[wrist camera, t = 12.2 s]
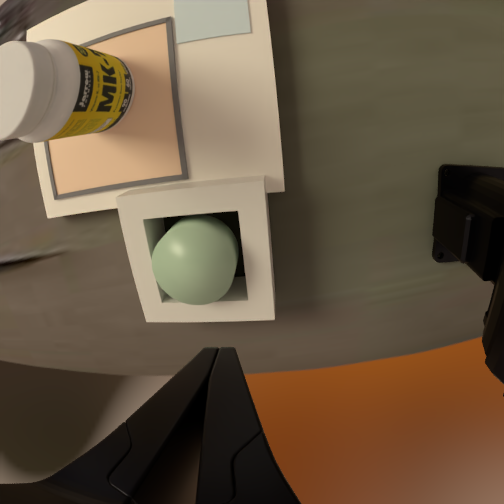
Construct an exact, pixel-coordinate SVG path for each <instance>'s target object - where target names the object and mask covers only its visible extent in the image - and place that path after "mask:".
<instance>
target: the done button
mask: <svg viewBox="0 0 504 504" xmlns="http://www.w3.org/2000/svg"><path fill="white" fill-rule="evenodd" d="M238 258H239V247H238V242H237V239H236V237H235V235H234V234H233V232H232V231H231V229H230V228H229V227H228V226H227V225H226V224H225V223H223V222H222V221H220V220H219V219H217V218H215V217H212V216H208V215H202V214H195V215H190V216H186V217H184V218H182V219H180V220H179V221H177V222H176V223H175V224H174V225H173V226H172V227H171V228H170V230H169V231H168V232H167V233H166V234H165V235H164V236H163V237H162V238H161V240H160V241H159V242H158V243H157V245H156V247H155V249H154V251H153V255H152V270H153V273H154V276H155V279H156V281H157V282H158V284H159V285H160V287H161V288H162V289H163V290H164V291H165V292H166V293H167V294H168V295H169V296H171V297H172V298H174V299H176V300H178V301H180V302H182V303H186V304H190V305H205V304H210V303H212V302H215V301H217V300H218V299H220V298H221V297H223V296H224V295H225V294H226V292H227V291H228V290H229V288H230V286H231V284H232V282H233V278H234V274H235V270H236V266H237V262H238Z"/></svg>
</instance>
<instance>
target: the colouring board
mask: <svg viewBox="0 0 504 504" xmlns="http://www.w3.org/2000/svg"><path fill="white" fill-rule="evenodd" d="M45 39H55V40H61V41H65V42H69V43H72V44H76V45H79V46H83V47H86V48H90V49H93V50H96V51H100V52H103V53H106V54H109V55H112V56H115V57H117V58H119V59H121V60H122V61H124V62H125V63H126V64H127V66H128V67H129V69H130V70H131V72H132V75H133V78H134V83H135V94H134V99H133V102H132V105H131V107H130V109H129V111H128V113H127V114H126V116H125V117H124V118H123V119H122V120H121V121H120V122H119V123H118V124H117V125H116V126H114V127H113V128H111V129H109V130H107V131H104V132H99V133H92V134H86V135H79V136H73V137H66V138H61V139H55V140H49V141H44V142H38V143H33V145H34V152H35V158H36V164H37V170H38V175H39V181H40V186H41V190H42V195H43V200H44V204H45V209H46V213H47V217H48V218H53V217H60V216H66V215H72V214H79V213H85V212H92V211H99V210H106V209H114V208H118V207H117V202H116V197H117V196H119V195H121V194H123V193H124V192H126V191H128V190H132V189H139V188H146V187H154V186H161V185H169V184H177V183H186V182H194V181H204V180H213V179H223V178H234V177H246V176H258V175H265V182H266V193H272V192H285V187H284V174H283V161H282V148H281V136H280V125H279V114H278V103H277V93H276V83H275V73H274V63H273V54H272V45H271V37H270V28H269V20H268V12H267V4H266V0H88V1H86V2H84V3H81V4H79V5H77V6H74V7H72V8H70V9H68V10H66V11H64V12H61V13H59V14H57V15H55V16H53V17H51V18H49V19H47V20H45V21H44V22H42V23H40V24H38V25H36V26H34V27H32V28H31V29H29V30H27V42H37V41H40V40H45Z"/></svg>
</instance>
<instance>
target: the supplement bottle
mask: <svg viewBox="0 0 504 504" xmlns="http://www.w3.org/2000/svg"><path fill="white" fill-rule="evenodd" d="M134 94H135V83H134V78H133V75H132V72H131V70H130V69H129V67H128V66H127V64H126V63H125V62H124V61H122V60H121V59H119V58H117V57H115V56H112V55H109V54H106V53H103V52H100V51H96V50H93V49H90V48H86V47H83V46H79V45H76V44H72V43H69V42H65V41H61V40H55V39H45V40H40V41H37V42H23V41H10V42H7V43H5V44H3V45H1V46H0V141H1V140H7V139H13V138H19V139H20V140H23V141H25V142H31V143H38V142H44V141H49V140H55V139H61V138H66V137H73V136H79V135H86V134H92V133H99V132H104V131H107V130H109V129H111V128H113V127H114V126H116V125H117V124H118V123H119V122H120V121H121V120H122V119H123V118H124V117H125V116H126V114H127V113H128V111H129V109H130V107H131V105H132V102H133V99H134Z"/></svg>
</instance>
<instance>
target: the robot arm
mask: <svg viewBox="0 0 504 504" xmlns="http://www.w3.org/2000/svg"><path fill="white" fill-rule="evenodd" d="M446 169H447V170H448V174H447V176H445V170H446ZM432 235H433V237H434V242H433V251H432V257H433V259H434V260H435V261H436V262H439V263H441V262H453V261H460V262H461V263H465V264H467V265H468V266H469V267H470V268H471V269H472V270H473V271H474V272H475V273H476V274H477V275H478V276H479V277H480V278H481V279H482V280H483V281H491V282H492V283H493V284H494V289H493V293H492V297H491V300H490V304H489V308H488V311H487V312H485V316H484V319H483V322H484V326H485V327H484V330H483V337H482V343H483V347H484V350H485V354H486V356H487V357H486V359H485V364H486V365H487V366H488V368H489V369H490V371H491V372H492V373H493V374H494V376H495V377H497V378H498V379H499V380H500V381H501V382H502V383H503V384H504V168H502V167H489V166H473V165H454V164H443V165H442V166H440V168H439V171H438V195H437V198H436V199H435V211H434V223H433V234H432ZM440 252H441V255H440V256H439V257H438V254H439V253H440ZM503 396H504V394H503ZM0 504H301V502H300V501H299V499H298V498H297V496H296V495H295V493H294V491H293V490H292V488H291V487H290V485H289V483H288V482H287V480H286V478H285V477H284V475H283V473H282V471H281V470H280V468H279V466H278V464H277V463H276V460H275V458H274V456H273V453H272V451H271V449H270V446H269V444H268V441H267V438H266V436H265V433H264V431H263V428H262V425H261V422H260V420H259V417H258V414H257V411H256V409H255V405H254V403H253V400H252V397H251V394H250V391H249V388H248V385H247V382H246V379H245V376H244V373H243V370H242V367H241V364H240V361H239V358H238V355H237V352H236V350H235V348H234V347H221V348H220V349H219V348H218V347H205V348H203V349H202V350H201V351H200V352H199V353H198V354H197V355H196V356H195V357H194V358H193V359H192V360H191V361H189V362H188V363H187V364H186V365H185V366H184V367H183V368H182V369H181V370H180V371H179V372H178V373H177V374H176V375H175V376H173V377H172V378H171V379H170V380H169V381H168V382H167V383H166V384H165V385H164V386H163V387H162V388H161V389H160V390H158V391H157V392H156V393H155V394H154V395H153V396H152V397H151V398H150V399H149V400H148V401H147V402H145V403H144V404H143V405H142V406H141V407H140V408H139V409H138V410H137V411H136V412H135V413H133V414H132V415H131V416H130V417H129V418H128V419H127V420H126V423H125V422H123V423H122V424H121V425H120V426H119V427H118V428H117V429H115V430H114V431H113V432H112V433H111V434H109V435H108V436H107V437H106V438H105V439H103V440H102V441H101V442H100V443H98V444H97V445H96V446H94V447H93V448H92V449H90V450H89V451H88V452H86V453H85V454H83V455H82V456H80V457H79V458H77V459H76V460H75V461H73V462H72V463H70V464H68V465H67V466H65V467H64V468H62V469H61V470H59V471H58V472H57V473H55V474H53V475H52V476H50V477H48V478H46V479H43V480H41V481H37V482H33V483H19V484H0Z"/></svg>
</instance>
